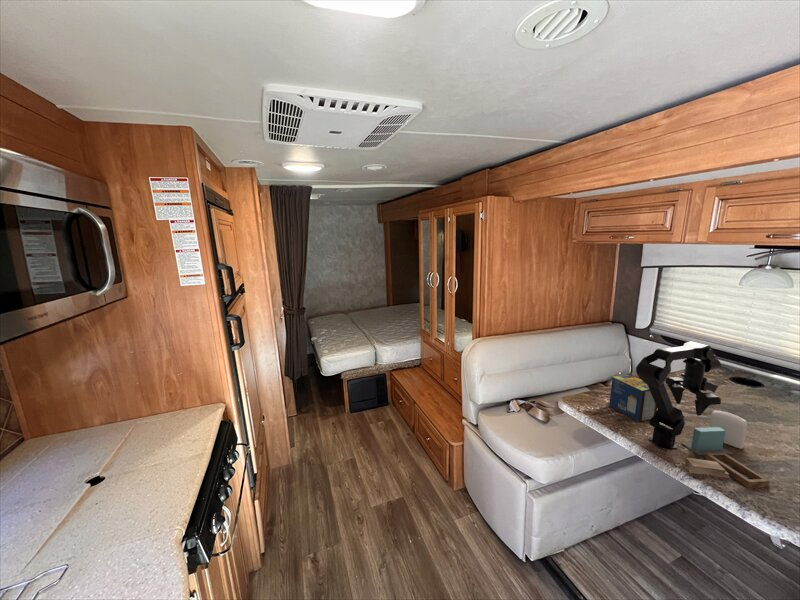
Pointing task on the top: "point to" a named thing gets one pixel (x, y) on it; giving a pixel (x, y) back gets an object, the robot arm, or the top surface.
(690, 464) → the offcut stack
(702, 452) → the charcoal mat
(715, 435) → the teal block
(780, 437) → the top surface
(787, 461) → the top surface
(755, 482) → the walnut rack
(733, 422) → the photo printer
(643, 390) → the protein box
